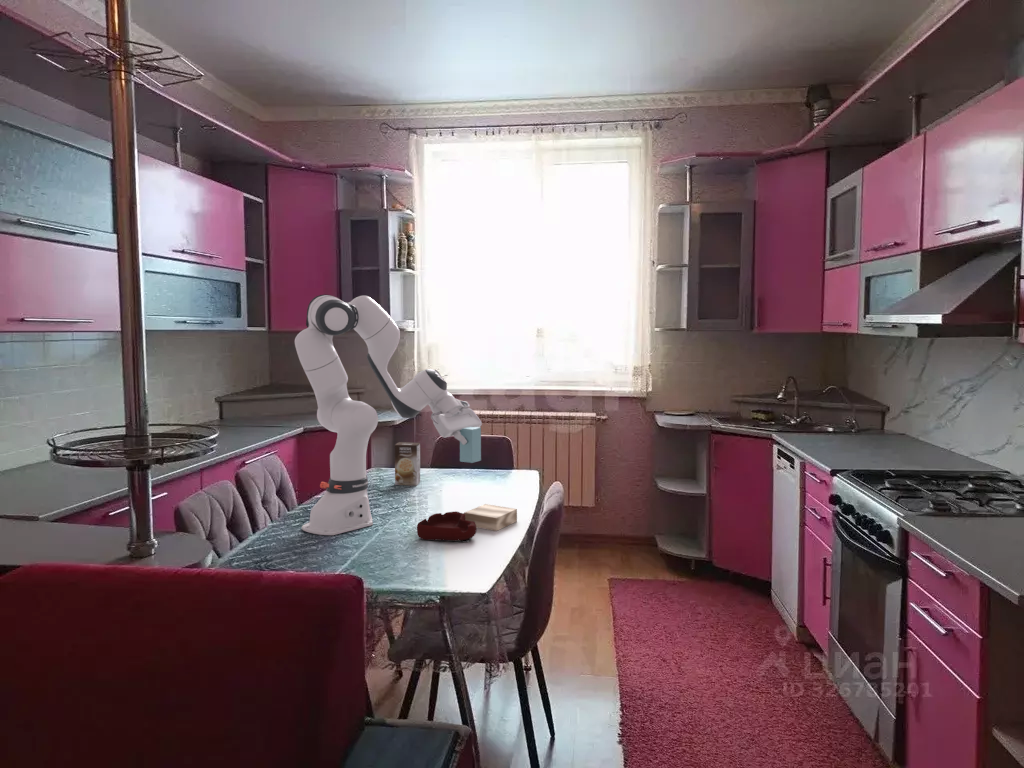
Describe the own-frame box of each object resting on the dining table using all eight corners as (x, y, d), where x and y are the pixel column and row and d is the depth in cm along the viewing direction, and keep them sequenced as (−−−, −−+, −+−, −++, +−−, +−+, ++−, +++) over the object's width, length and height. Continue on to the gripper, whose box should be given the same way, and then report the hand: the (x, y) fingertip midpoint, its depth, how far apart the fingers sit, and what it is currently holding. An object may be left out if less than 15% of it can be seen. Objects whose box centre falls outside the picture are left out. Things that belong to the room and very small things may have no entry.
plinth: (496, 531, 208) (496, 518, 208) (464, 525, 214) (463, 512, 214) (516, 521, 218) (516, 508, 218) (485, 516, 225) (485, 504, 224)
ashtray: (410, 531, 209) (409, 515, 208) (461, 525, 215) (461, 510, 214) (424, 549, 192) (424, 531, 192) (480, 542, 198) (479, 525, 198)
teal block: (472, 462, 225) (472, 429, 224) (459, 461, 228) (459, 428, 227) (480, 460, 229) (480, 427, 228) (468, 458, 232) (468, 426, 231)
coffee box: (394, 485, 269) (393, 444, 267) (398, 481, 275) (397, 441, 274) (417, 485, 268) (416, 445, 266) (421, 482, 274) (420, 442, 273)
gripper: (434, 407, 222) (458, 440, 217) (470, 401, 239) (494, 431, 235) (423, 420, 224) (447, 452, 220) (460, 413, 242) (483, 443, 238)
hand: (471, 441), depth 228 cm, fingers closed on teal block, 5 cm apart
